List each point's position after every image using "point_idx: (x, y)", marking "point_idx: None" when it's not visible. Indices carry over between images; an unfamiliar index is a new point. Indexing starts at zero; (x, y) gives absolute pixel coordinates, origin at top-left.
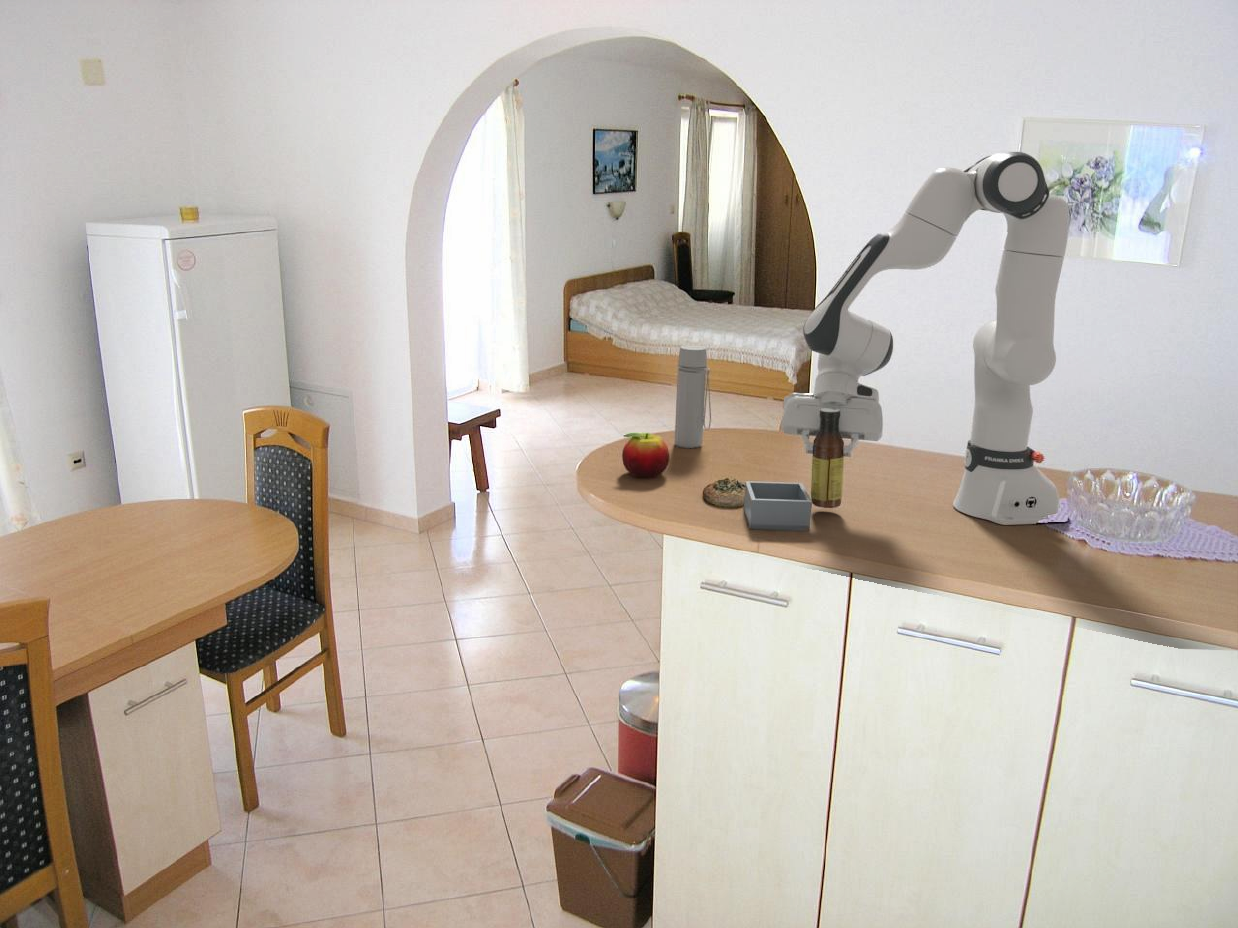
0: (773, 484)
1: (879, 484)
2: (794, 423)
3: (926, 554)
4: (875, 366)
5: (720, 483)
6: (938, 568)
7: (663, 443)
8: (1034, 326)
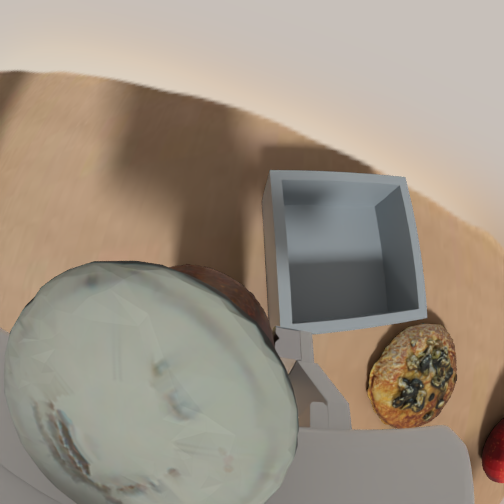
0: (362, 317)
1: None
2: (415, 441)
3: (84, 131)
4: None
5: (444, 377)
6: (95, 93)
7: None
8: None
